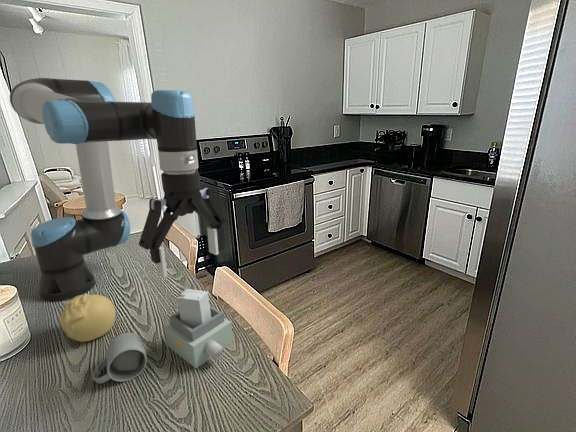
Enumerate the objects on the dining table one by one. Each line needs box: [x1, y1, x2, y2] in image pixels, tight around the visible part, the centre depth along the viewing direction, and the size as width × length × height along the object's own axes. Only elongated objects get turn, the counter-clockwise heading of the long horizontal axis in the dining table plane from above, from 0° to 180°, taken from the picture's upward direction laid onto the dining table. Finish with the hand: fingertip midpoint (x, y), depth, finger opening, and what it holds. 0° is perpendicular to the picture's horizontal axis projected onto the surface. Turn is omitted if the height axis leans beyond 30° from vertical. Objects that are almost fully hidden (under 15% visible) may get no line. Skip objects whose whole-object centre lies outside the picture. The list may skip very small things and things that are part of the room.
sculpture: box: [59, 293, 117, 343], centre depth 79 cm, size 11×12×11 cm
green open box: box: [163, 304, 234, 369], centre depth 75 cm, size 15×11×8 cm
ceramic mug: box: [92, 331, 148, 385], centre depth 68 cm, size 11×8×8 cm
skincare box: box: [176, 288, 211, 329], centre depth 74 cm, size 6×4×12 cm
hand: (190, 263), depth 70 cm, fingers open, 13 cm apart
